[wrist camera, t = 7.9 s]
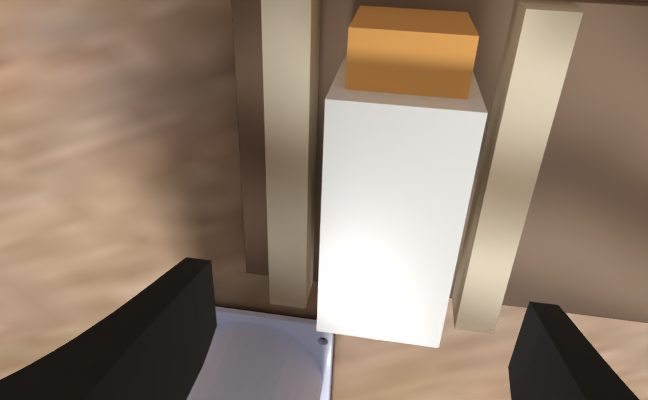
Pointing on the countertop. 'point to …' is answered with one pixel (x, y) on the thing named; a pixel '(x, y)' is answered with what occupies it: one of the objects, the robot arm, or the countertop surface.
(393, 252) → the white tall block
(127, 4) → the countertop surface
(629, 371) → the countertop surface
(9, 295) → the countertop surface
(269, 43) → the board
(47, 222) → the countertop surface
